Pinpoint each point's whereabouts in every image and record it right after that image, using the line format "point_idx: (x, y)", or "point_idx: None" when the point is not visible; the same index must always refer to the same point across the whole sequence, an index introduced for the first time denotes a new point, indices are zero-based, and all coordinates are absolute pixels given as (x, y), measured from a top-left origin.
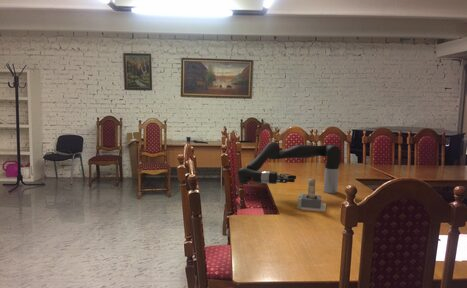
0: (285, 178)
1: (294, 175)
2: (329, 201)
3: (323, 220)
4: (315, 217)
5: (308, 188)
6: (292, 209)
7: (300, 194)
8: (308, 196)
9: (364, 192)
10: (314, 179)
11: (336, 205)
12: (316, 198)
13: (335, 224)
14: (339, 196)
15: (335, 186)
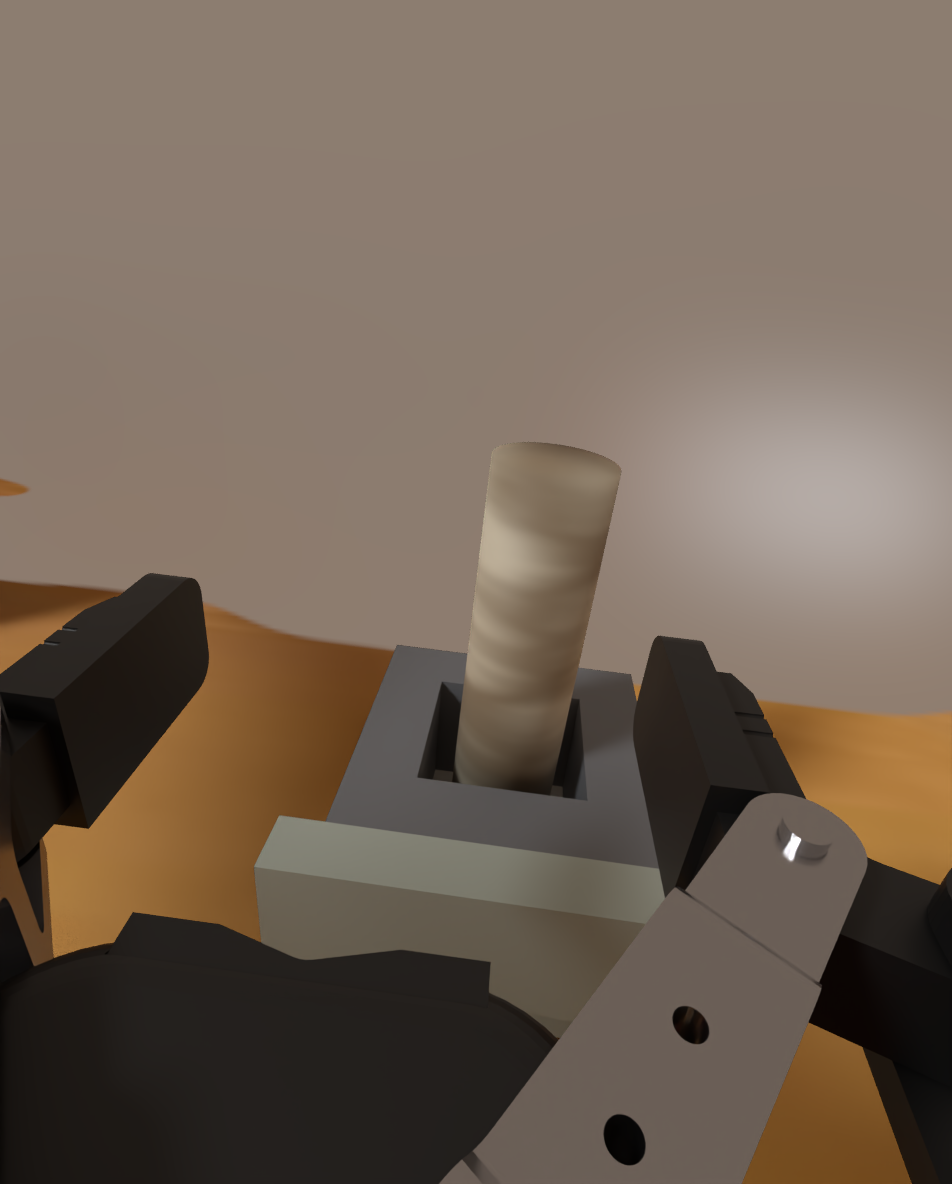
0: (834, 942)
1: (130, 590)
2: (235, 671)
3: (916, 786)
4: (886, 843)
5: (556, 646)
6: (752, 1180)
7: (365, 871)
8: (537, 760)
9: (22, 493)
10: (556, 447)
11: (376, 648)
12: (439, 711)
13: (936, 723)
14: (72, 595)
15: None
